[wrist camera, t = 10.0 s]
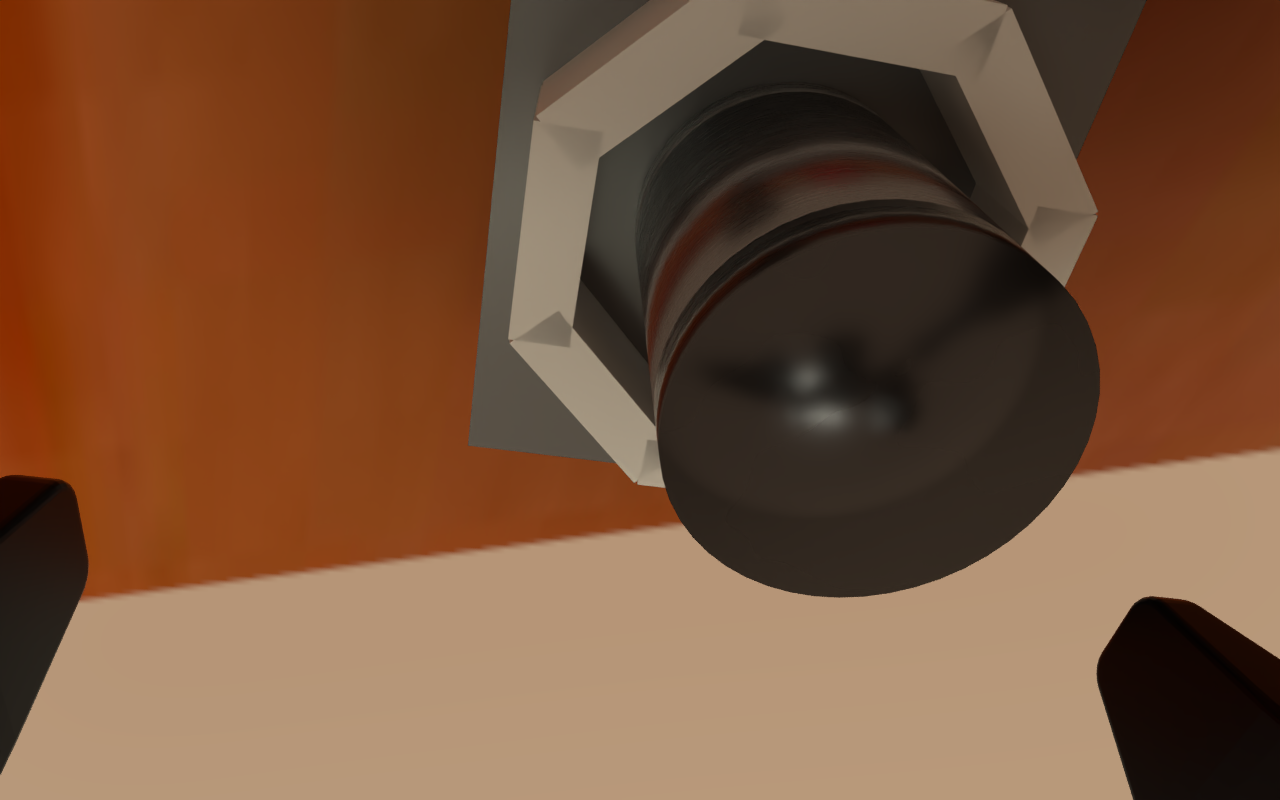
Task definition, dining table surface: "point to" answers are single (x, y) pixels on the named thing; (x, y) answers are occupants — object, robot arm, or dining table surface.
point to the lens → (847, 350)
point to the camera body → (692, 80)
